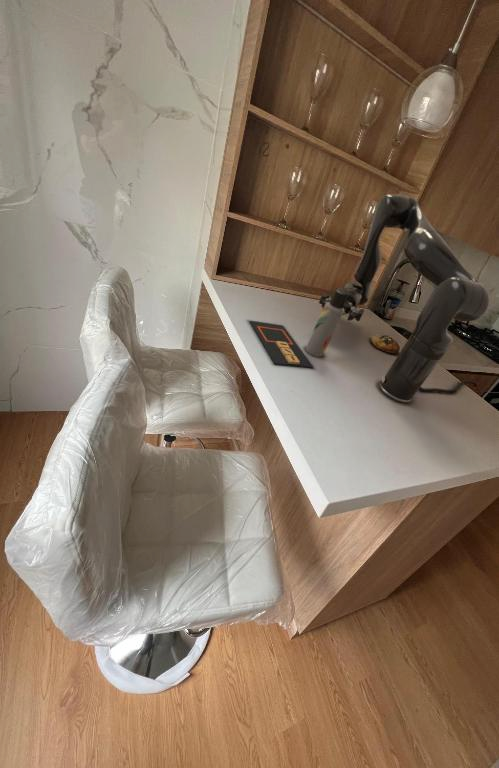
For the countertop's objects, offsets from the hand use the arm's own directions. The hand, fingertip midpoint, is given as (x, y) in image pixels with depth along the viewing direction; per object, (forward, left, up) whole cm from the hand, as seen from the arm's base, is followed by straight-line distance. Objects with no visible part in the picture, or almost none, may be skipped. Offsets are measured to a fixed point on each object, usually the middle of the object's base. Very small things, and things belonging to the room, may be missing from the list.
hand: (336, 311), depth 101 cm
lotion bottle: (+9, +3, -11) cm, 15 cm away
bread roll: (-28, +8, -11) cm, 32 cm away
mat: (+18, -4, -11) cm, 21 cm away
